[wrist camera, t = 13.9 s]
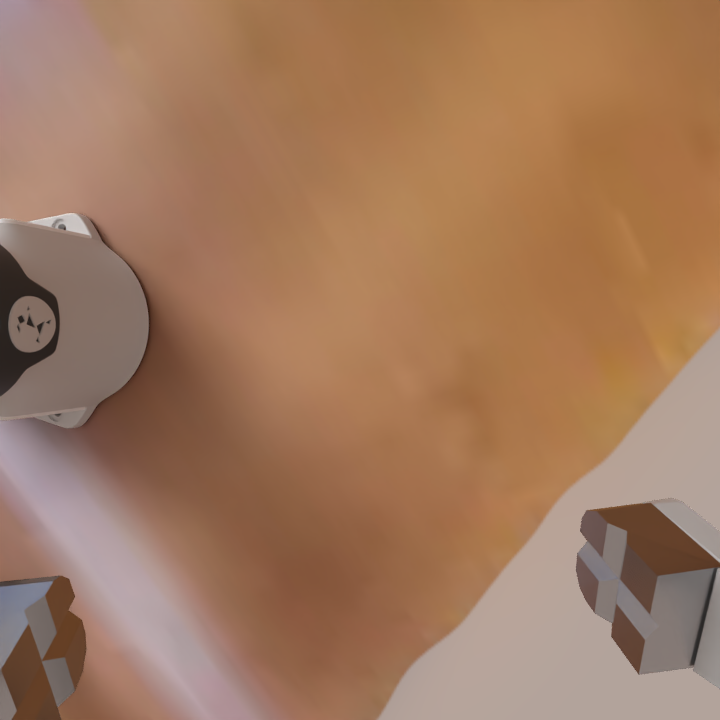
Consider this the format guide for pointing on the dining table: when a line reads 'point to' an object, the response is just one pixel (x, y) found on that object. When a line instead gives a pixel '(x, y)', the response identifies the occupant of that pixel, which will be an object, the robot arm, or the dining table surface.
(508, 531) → the dining table surface
